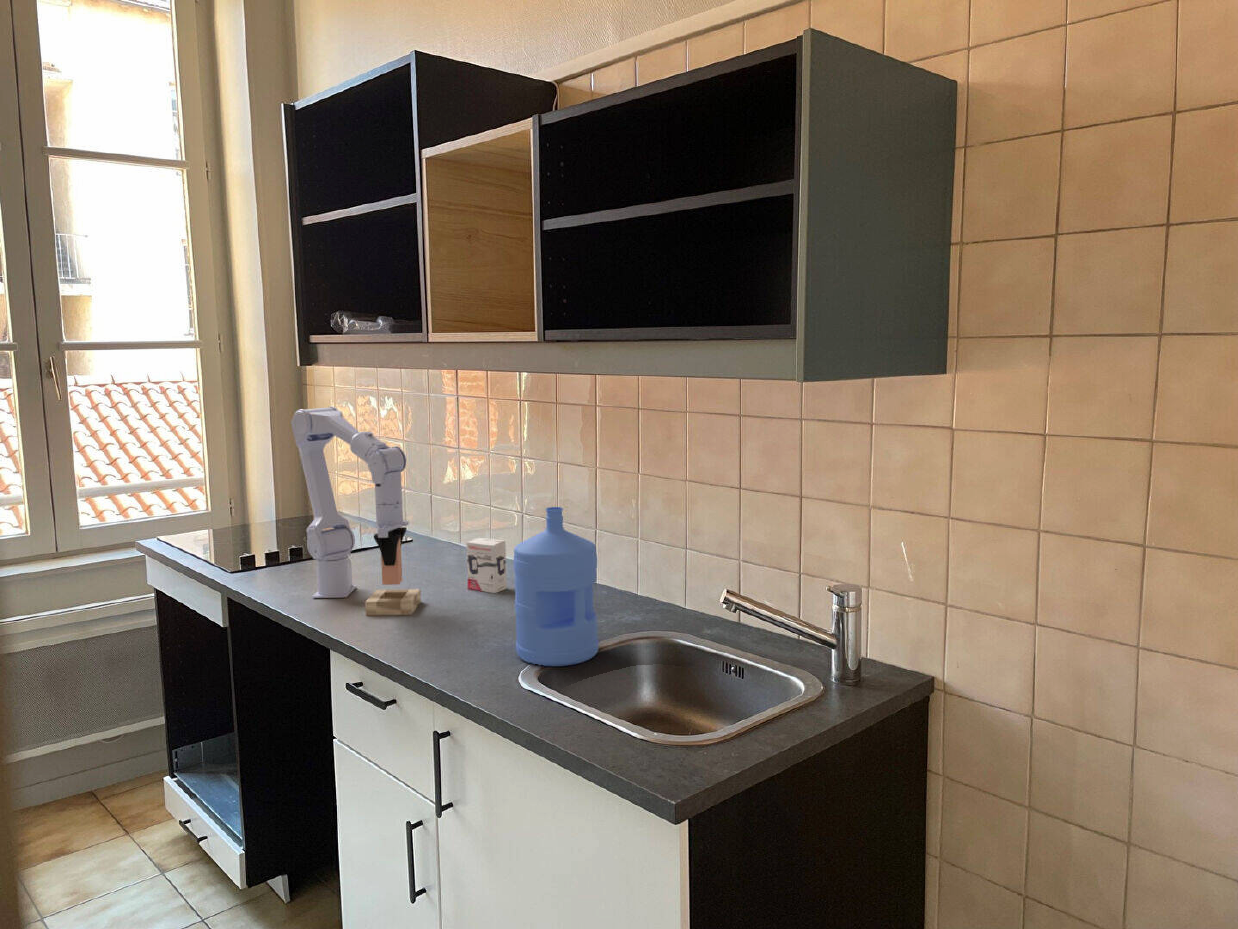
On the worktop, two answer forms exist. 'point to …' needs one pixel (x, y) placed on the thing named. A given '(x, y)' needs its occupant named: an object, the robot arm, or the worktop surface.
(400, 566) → the peg
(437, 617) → the worktop surface
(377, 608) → the socket block
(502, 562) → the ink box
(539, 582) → the water jug
